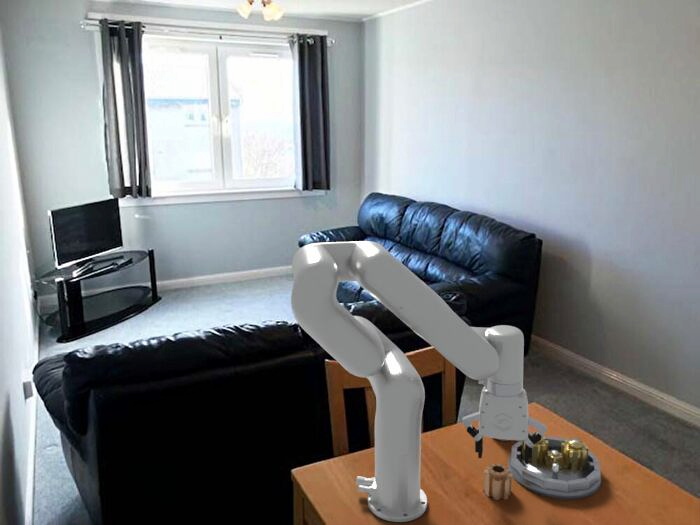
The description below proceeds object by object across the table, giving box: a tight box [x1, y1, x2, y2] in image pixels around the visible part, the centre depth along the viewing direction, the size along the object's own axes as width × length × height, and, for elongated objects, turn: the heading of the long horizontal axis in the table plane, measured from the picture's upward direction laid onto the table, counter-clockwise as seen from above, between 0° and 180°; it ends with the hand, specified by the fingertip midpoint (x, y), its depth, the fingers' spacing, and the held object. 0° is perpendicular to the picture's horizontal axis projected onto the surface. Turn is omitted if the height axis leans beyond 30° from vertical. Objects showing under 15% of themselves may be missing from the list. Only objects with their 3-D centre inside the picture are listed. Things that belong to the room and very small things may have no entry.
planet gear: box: [482, 463, 513, 501], centre depth 124 cm, size 6×6×6 cm
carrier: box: [508, 431, 602, 500], centre depth 131 cm, size 20×20×7 cm
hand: (503, 457), depth 123 cm, fingers open, 9 cm apart
